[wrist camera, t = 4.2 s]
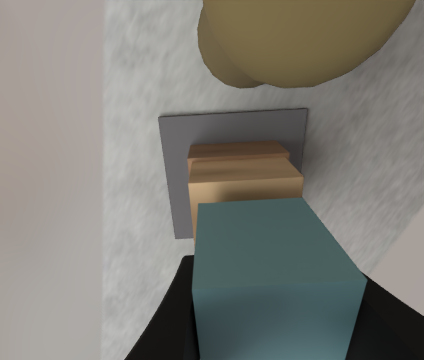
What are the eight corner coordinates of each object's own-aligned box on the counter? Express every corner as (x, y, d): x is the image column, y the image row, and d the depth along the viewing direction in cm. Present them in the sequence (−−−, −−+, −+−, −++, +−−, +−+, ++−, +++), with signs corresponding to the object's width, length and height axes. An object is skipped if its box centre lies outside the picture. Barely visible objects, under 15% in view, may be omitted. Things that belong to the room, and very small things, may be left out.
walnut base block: (271, 213, 19) (282, 236, 16) (197, 217, 19) (195, 241, 16) (275, 140, 17) (289, 152, 14) (190, 145, 17) (187, 158, 14)
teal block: (293, 275, 12) (339, 380, 8) (205, 280, 12) (203, 387, 8) (302, 197, 10) (367, 279, 6) (198, 203, 10) (192, 289, 6)
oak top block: (279, 233, 16) (293, 265, 13) (199, 238, 16) (197, 271, 13) (284, 157, 14) (304, 177, 11) (191, 162, 14) (187, 183, 11)
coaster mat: (292, 229, 20) (294, 232, 20) (175, 236, 20) (175, 239, 20) (305, 108, 16) (307, 109, 16) (159, 116, 16) (157, 117, 16)
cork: (293, -41, 13) (597, -450, 3) (299, 77, 15) (476, 79, 5) (186, -13, 13) (123, -288, 3) (208, 97, 16) (212, 135, 6)
